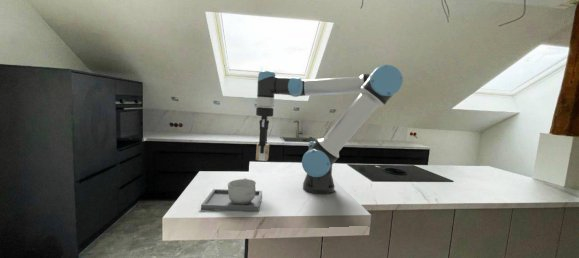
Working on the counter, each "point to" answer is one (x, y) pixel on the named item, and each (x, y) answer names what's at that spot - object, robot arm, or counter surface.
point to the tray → (229, 202)
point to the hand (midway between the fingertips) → (262, 158)
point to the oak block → (265, 152)
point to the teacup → (241, 191)
